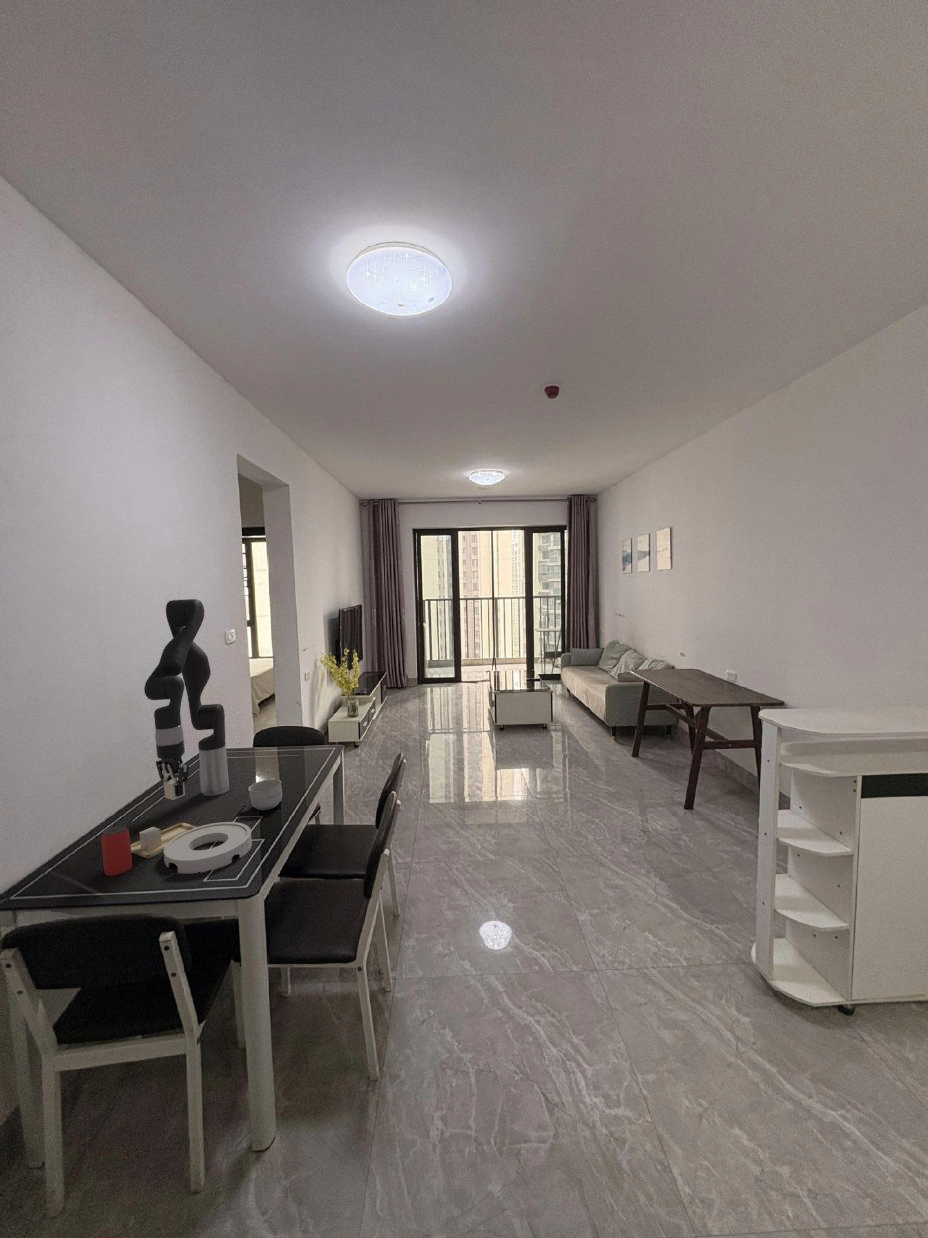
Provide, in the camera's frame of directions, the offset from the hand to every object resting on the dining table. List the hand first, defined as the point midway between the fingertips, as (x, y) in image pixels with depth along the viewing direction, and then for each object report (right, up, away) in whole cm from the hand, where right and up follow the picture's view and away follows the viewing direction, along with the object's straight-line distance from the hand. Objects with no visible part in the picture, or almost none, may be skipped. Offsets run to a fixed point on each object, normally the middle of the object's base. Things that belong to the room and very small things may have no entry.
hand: (175, 794), depth 170 cm
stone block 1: (-4, -14, -6) cm, 16 cm away
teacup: (+21, -11, +22) cm, 33 cm away
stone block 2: (0, -1, 0) cm, 1 cm away
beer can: (-6, -16, -18) cm, 25 cm away
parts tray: (-1, -14, -3) cm, 14 cm away
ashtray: (+15, -14, -10) cm, 23 cm away
